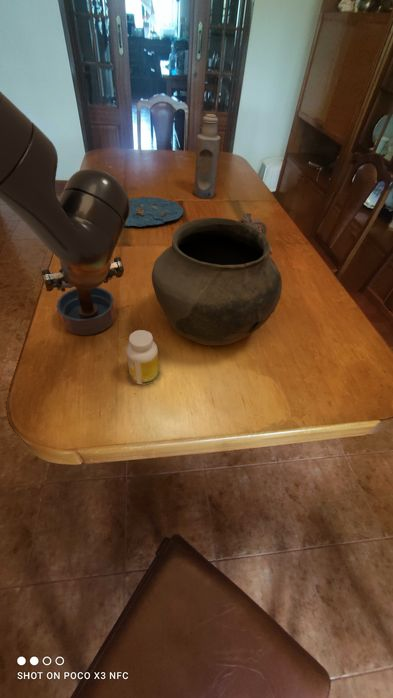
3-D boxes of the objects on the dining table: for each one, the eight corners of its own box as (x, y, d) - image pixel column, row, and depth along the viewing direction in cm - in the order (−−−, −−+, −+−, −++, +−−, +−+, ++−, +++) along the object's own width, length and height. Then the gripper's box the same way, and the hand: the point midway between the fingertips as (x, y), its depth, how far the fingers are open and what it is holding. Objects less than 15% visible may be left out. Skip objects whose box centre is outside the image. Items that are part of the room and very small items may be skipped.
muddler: (82, 324, 80) (72, 288, 72) (78, 313, 83) (68, 277, 75) (101, 320, 82) (93, 284, 74) (96, 309, 85) (89, 273, 77)
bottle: (191, 196, 143) (196, 115, 121) (196, 189, 150) (201, 111, 128) (212, 200, 142) (220, 118, 120) (216, 192, 149) (224, 113, 127)
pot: (250, 390, 70) (279, 301, 52) (132, 339, 79) (121, 247, 61) (286, 316, 89) (316, 232, 71) (187, 282, 97) (191, 198, 79)
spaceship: (257, 246, 99) (282, 236, 98) (232, 210, 125) (251, 202, 124) (262, 267, 104) (285, 258, 103) (237, 228, 131) (255, 221, 130)
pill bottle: (164, 371, 72) (164, 335, 64) (146, 390, 68) (143, 354, 60) (141, 359, 74) (138, 322, 66) (123, 377, 70) (117, 340, 62)
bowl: (67, 343, 76) (61, 326, 72) (58, 309, 85) (52, 292, 81) (122, 329, 81) (120, 312, 77) (108, 298, 89) (105, 281, 85)
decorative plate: (93, 220, 124) (90, 206, 120) (139, 195, 142) (138, 183, 138) (156, 239, 114) (155, 225, 110) (197, 210, 132) (197, 197, 129)
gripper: (122, 231, 53) (112, 258, 68) (30, 245, 48) (41, 271, 63) (135, 275, 53) (122, 292, 68) (45, 293, 48) (52, 307, 63)
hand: (83, 282), depth 66 cm, fingers open, 8 cm apart
